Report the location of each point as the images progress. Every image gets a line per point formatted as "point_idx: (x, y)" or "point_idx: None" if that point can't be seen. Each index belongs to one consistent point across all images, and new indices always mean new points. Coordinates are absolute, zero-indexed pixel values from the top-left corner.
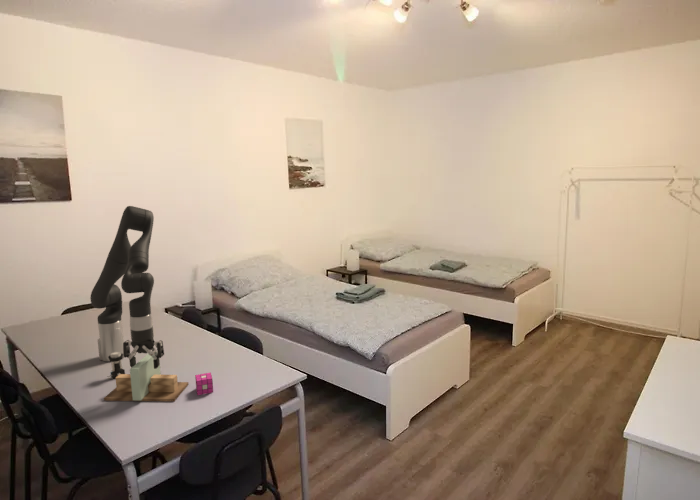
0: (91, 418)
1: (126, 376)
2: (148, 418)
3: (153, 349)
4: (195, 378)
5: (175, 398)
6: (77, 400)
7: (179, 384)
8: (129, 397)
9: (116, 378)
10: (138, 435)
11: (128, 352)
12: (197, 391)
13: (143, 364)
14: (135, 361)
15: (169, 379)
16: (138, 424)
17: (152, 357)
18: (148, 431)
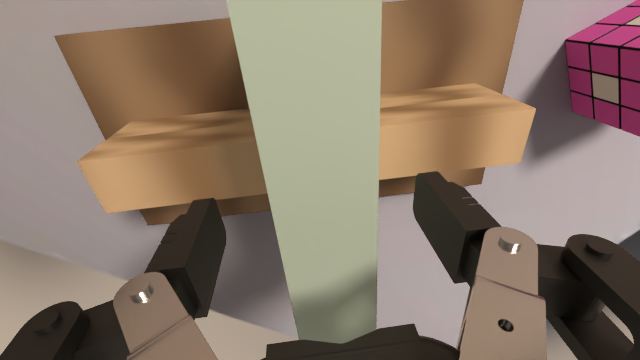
0: (224, 306)
1: (169, 186)
2: (414, 277)
3: (508, 336)
4: (629, 52)
5: (481, 170)
6: (25, 233)
7: (473, 33)
8: (266, 202)
9: (116, 208)
10: (421, 331)
11: (55, 357)
12: (592, 118)
13: (375, 326)
14: (202, 233)
15: (486, 162)
16: (397, 302)
17: (376, 166)
18: (441, 317)
